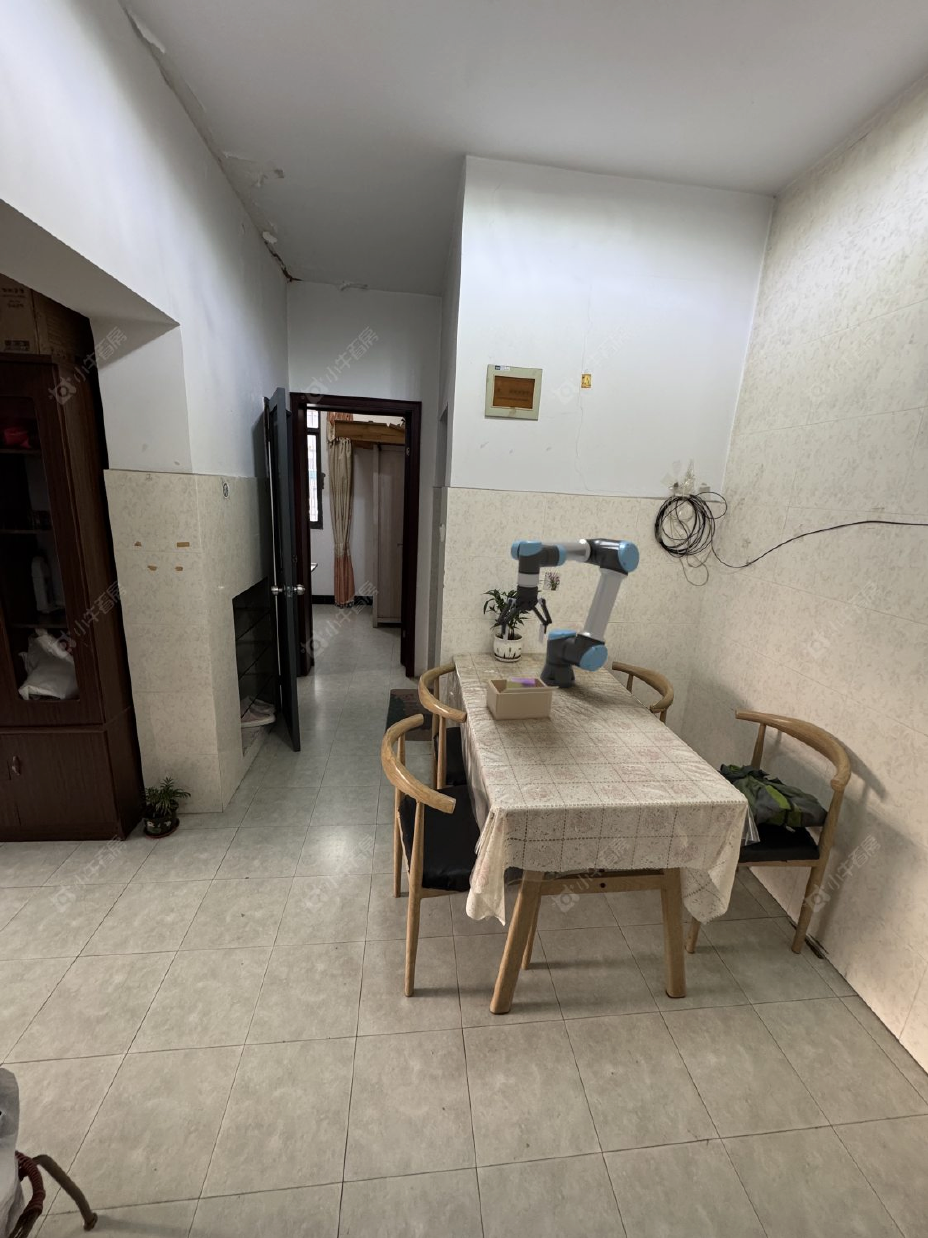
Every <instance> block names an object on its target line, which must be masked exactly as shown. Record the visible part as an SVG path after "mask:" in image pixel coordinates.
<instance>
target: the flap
mask: <svg viewBox="0 0 928 1238" xmlns="http://www.w3.org/2000/svg"><path fill="white" fill-rule="evenodd" d="M559 688H560V687H559V686H556V687H553V686H547V687H528V688H507V689H505V690H504V691H502V692H501V694H502V693H528V692H551V691H552V692H553V691H556V689H559Z"/></svg>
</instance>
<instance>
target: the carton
mask: <svg viewBox="0 0 928 1238" xmlns="http://www.w3.org/2000/svg"><path fill="white" fill-rule="evenodd" d="M533 678H534V679H535V687H548V685H546V684H545V683H544V682H543V681H542V680H541V679H540V677H533ZM506 683H507V678H497V679H496V678H493V679H492V678H490V679H489V678H488V679H487V681H486V695H485V699H486V705H487V708H488V709H489V710H490V712H491V713H492V715H493V717H494V718H495V720H496V721H505V720H508V721H509V720H529V719H530V720H531V719H545V718H546V719H548V718H550V715H551V710H552V700H553V699H552V698H553V691H551V692H528V693H502V694H501V692H502V691H504V690H505V689H506Z"/></svg>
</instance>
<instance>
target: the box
mask: <svg viewBox="0 0 928 1238" xmlns="http://www.w3.org/2000/svg"><path fill="white" fill-rule="evenodd" d="M534 678H535V677H523V676H522V677H521V676H513V675H512V676H511V675H510V676H509V675H507V676H506V679H507V683H506V689H507V688H528V687H535V679H534Z"/></svg>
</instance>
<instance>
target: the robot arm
mask: <svg viewBox="0 0 928 1238" xmlns="http://www.w3.org/2000/svg"><path fill="white" fill-rule="evenodd" d="M510 555H511V558H512V559H514V560H516V561H518V566H517V568H518V570H517V582H516V583H517V585H516V592H515V594H516V595H515V598H512V597H507V599H506V603H505V605H504V607H503V609H501V613H500V614H499V616H498V617H497V620H496V623H497V624H498V625H501V629H500V630H501V631H500V633H501V635H502V636H503V637H502V638H503V639H502V642H503V644H504V645H507V644H508V638H509V635H508V634H509V626H508V624H509V623H510V622H511V621H512V620H513V619H514V617H515V616H517V614H518V613H520V612H531V611H532V612H533V613H534V614H535V616H536V617H537V619H538V620H539V621H540V622H541V623H540V624H539V632H538V642H539V643H540V644H544V638H545V637H544V635H546V634H547V627H548V626H549V625H551V624H553V620H552V617H551V614H550V612H549V609H548V608H547V607H548V606H547V600H546V598H544V597H540V598H538V595H539V586H538V585H539V583H540V573H541V568H552V567H553V568H556V567H561V566H563V565H564V564H565V563H566V562H567V561H569V562H570V561H575V562H577V563H579V564H580V563H581V564H582V563H583V564H584V563H585V564H590V565H593V566H597V567H599V568H598V570H599V571H598V572H600V576H599V580H598V583H597V586H596V589H595V591H594V592H595V593H594V594H593V598H592V601H591V604H590V607H589V610H588V613H587V615H586V616H587V617H586V619H585V622H584V625H583V628H582V630H580V631H578V632H576V631H575V630H572V629H564V628H563V629H554V630H550V631H549V632H548V635H547V639H546V640H547V641H546V652H545V653H546V654H545V663H544V666H543V668H542V671H541V672H540V673H539V674H540V675H539V679H541V680H542V681H543V682H544V683H545V684H546V685H547V686H548V687H556V686H559V688H562V689H563V688H571V687H573V686H574V685H575V684H576V675H575V671H574V667H573V666H575V667H578V668H580V669H581V670H584V671H588V672H596V671H599V669H601V668H602V667H603V666H604V665H605V663H606V662H607V658H608V656H609V655H608V654H609V651H608V648H607V647H606V643H607V642H606V639H605V637H604V636H605V633H606V630H607V626H608V623H609V622H610V617H611V616H612V613H613V612H612V611H613V609H614V606H615V603H616V600H617V597H618V594H619V591H620V588H621V585H622V582H623V580H625V579H627V578H628V576H629V573H632V572H634V571H636V569H637V568H638V565H639V562H640V551H639V548H638V546H637V545H636V544H635V543H634V542H630V541H626V540H621V539H620V540H619V539H611V538H603V537H599V538H597V537H596V538H587V539H585V538H583V539H582V538H581V539H578V540H576V541H539V540H531V539H530V540H529V539H526V540H525V539H523V540H516V541H515V542H513V543H512V545H511V547H510ZM514 604H515V605H514ZM538 604H539V605H540V607H541V610H542V612H543V615H544V616H543V615H542V614H541V613H540V611H539V609H538V608H537V607H536V606H537V605H538ZM513 605H514V607H513V609H512V610H511V611H510V609H511V607H512V606H513ZM509 611H510V612H509Z"/></svg>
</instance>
